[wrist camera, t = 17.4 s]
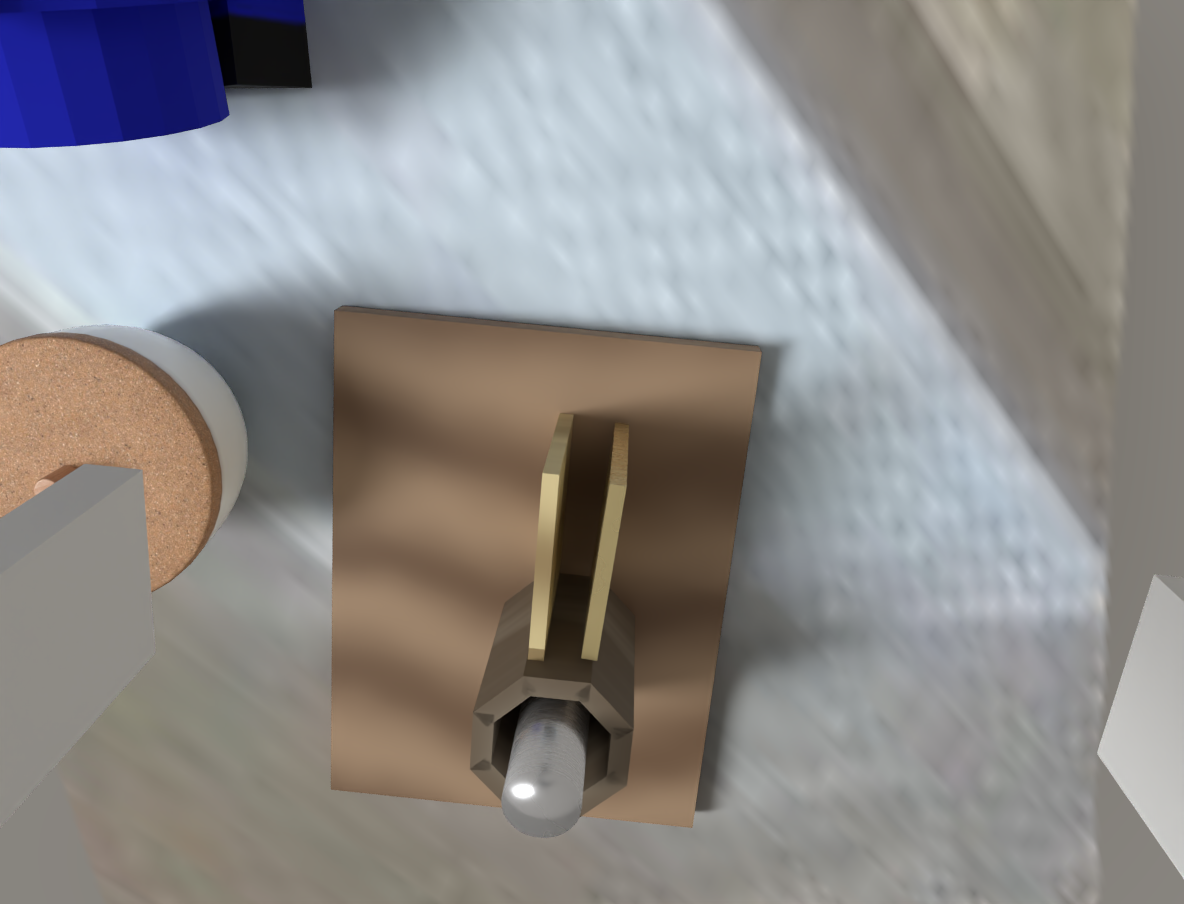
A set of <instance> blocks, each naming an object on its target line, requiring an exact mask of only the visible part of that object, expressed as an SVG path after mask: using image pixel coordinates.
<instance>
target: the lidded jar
mask: <svg viewBox="0 0 1184 904" xmlns="http://www.w3.org/2000/svg"><path fill="white" fill-rule="evenodd" d="M247 461H248V442H247V432H246V427H245V421H244V418H243V415H242V412H241V409H240V407H239V404H238V402H237V400H236V398H235V396H234V394H233V393H232V391H231V389H230V387H229V386H228V385H227V383H226V382H225V381H224V379H223V378H222V376H221V375H220V374H219V373H218V372H217V371H216V370H215V369H214V368H213V367H212V366H211V365H210V364H209V363H208V361H206V360H205V359H204V358H202V357H201V356H200V355H199V354H197V353H196V352H195V351H193V350H192V349H190V348H188V347H187V346H185V345H183V344H181V343H180V342H178V341H176V340H174V339H171V338H169V337H166V336H164V335H161V334H159V333H156V332H154V331H150V330H146V329H141V328H137V327H129V326H118V325H91V326H80V327H71V328H67V329H63V330H59V331H55V332H51V333H43V334H37V335H33V336H29V337H24V338H20V339H16V340H13V341H10V342H8V343H5V344H3V345H1V346H0V518H2V517H3V516H5V515H6V514H8V513H9V512H11V511H12V510H14V509H15V508H17V507H19V506H20V505H22V504H23V503H25V502H26V501H28V500H29V499H31V498H32V497H34V496H36V495H37V494H39V493H40V492H42V491H43V490H45V489H46V488H48V487H49V486H51V485H52V484H54V483H56V482H57V481H59V480H60V479H62V478H63V477H65V476H66V475H68V474H69V473H71V472H73V471H74V470H76V469H77V468H79V467H80V466H82V465H83V464H92V465H102V466H112V467H121V468H131V469H141V470H143V484H144V498H145V512H146V526H147V539H148V553H149V567H150V581H151V592H153V591H155V590H157V589H159V588H160V587H162V586H164V585H165V584H167V583H169V582H170V581H172V580H173V579H174V578H175V577H176V576H177V575H179V574H180V573H181V572H182V571H183V570H184V569H185V568H187V567H188V566H189V565H190V564H191V563H192V562H193V560H194V559H195V558H196V557H197V555H198V554H199V553H200V552H201V550H202V549H203V548H204V547H205V545H206V544H207V543H208V542H209V541H210V540H211V538H212V537H213V536H214V535H215V533H216V532H217V531H218V530H219V528H220V527H221V526H222V525H223V523H224V522H225V520H226V519H227V517H228V515H229V514H230V512H231V510H232V508H233V506H234V504H235V502H236V501H237V498H238V496H239V493H240V491H241V488H242V485H243V481H244V478H245V475H246V468H247Z"/></svg>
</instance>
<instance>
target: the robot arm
mask: <svg viewBox="0 0 1184 904" xmlns="http://www.w3.org/2000/svg"><path fill="white" fill-rule="evenodd" d="M155 653H156V650H155V636H154V622H153V609H152V595H151V581H150V567H149V553H148V539H147V526H146V512H145V498H144V484H143V470H141V469H131V468H121V467H112V466H102V465H92V464H83V465H82V466H80V467H79V468H77V469H76V470H74V471H73V472H71V473H69V474H68V475H66V476H65V477H63V478H62V479H60V480H59V481H57V482H56V483H54V484H52V485H51V486H49V487H48V488H46V489H45V490H43V491H42V492H40V493H39V494H37V495H36V496H34V497H32V498H31V499H29V500H28V501H26V502H25V503H23V504H22V505H20V506H19V507H17V508H15V509H14V510H12V511H11V512H9V513H8V514H6V515H5V516H3V517H2V518H0V828H1V827H2V826H3V825H4V823H5V822H6V821H7V820H8V819H9V818H10V817H11V816H12V814H13V813H14V812H15V811H16V810H17V809H18V807H19V806H20V805H21V804H22V803H23V802H24V801H25V800H26V799H27V797H28V796H29V795H30V794H31V793H32V792H33V791H34V789H35V788H36V787H37V786H38V785H39V784H40V783H41V782H42V781H43V779H44V778H45V777H46V776H47V775H48V774H49V773H50V772H51V770H52V769H53V768H54V767H55V766H56V765H57V764H58V762H59V761H60V760H61V759H62V758H63V757H64V756H65V755H66V753H67V752H68V751H69V750H70V749H71V748H72V747H73V746H74V744H75V743H76V742H77V741H78V740H79V739H80V738H81V737H82V735H83V734H84V733H85V732H86V731H87V730H88V729H89V727H90V726H91V725H92V724H93V723H94V722H95V721H96V720H97V718H98V717H99V716H100V715H101V714H102V713H103V712H104V711H105V709H106V708H107V707H108V706H109V705H110V704H111V703H112V702H113V700H114V699H115V698H116V697H117V696H118V695H119V694H120V693H121V691H122V690H123V689H124V688H125V687H126V686H127V685H128V683H129V682H130V681H131V680H132V679H133V678H134V677H135V676H136V674H137V673H138V672H139V671H140V670H141V669H142V668H143V667H144V665H145V664H146V663H147V662H148V661H149V660H150V659H151V658H152V656H153V655H154V654H155ZM1097 754H1098V755H1099V757H1100V758H1101V760H1102V761H1103V763H1104V764H1105V766H1106V767H1107V768H1108V770H1109V771H1110V773H1111V774H1112V775H1113V777H1114V778H1115V780H1116V781H1117V783H1118V784H1119V786H1120V787H1121V789H1122V790H1123V792H1124V793H1125V794H1126V796H1127V797H1128V799H1129V800H1130V802H1131V803H1132V805H1133V806H1134V808H1135V809H1136V810H1137V812H1138V813H1139V815H1140V816H1141V817H1142V819H1143V821H1144V822H1145V823H1146V825H1147V826H1148V828H1149V829H1150V831H1151V832H1152V834H1153V835H1154V836H1155V838H1156V839H1157V841H1158V842H1159V844H1160V845H1161V847H1162V848H1163V849H1164V851H1165V852H1166V854H1167V855H1168V857H1169V858H1170V860H1171V861H1172V862H1173V864H1174V865H1175V867H1176V868H1177V870H1178V871H1179V873H1180V874H1181V875H1182V877H1183V878H1184V577H1175V576H1164V575H1155V574H1154V577H1153V580H1152V583H1151V586H1150V589H1149V592H1148V596H1147V599H1146V602H1145V605H1144V608H1143V611H1142V614H1141V618H1140V621H1139V624H1138V627H1137V630H1136V633H1135V636H1134V639H1133V642H1132V646H1131V649H1130V652H1129V655H1128V658H1127V661H1126V665H1125V668H1124V671H1123V674H1122V677H1121V680H1120V683H1119V686H1118V689H1117V692H1116V696H1115V699H1114V702H1113V705H1112V708H1111V711H1110V714H1109V718H1108V721H1107V724H1106V727H1105V730H1104V733H1103V736H1102V739H1101V742H1100V746H1099V749H1098V752H1097Z"/></svg>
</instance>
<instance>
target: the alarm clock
mask: <svg viewBox="0 0 1184 904" xmlns="http://www.w3.org/2000/svg"><path fill="white" fill-rule="evenodd" d="M224 88H312V83H311V73H310V63H309V53H308V43H307V33H306V23H305V14H304V4H303V0H0V148H41V147H62V146H80V145H90V144H101V143H111V142H122V141H129V140H136V139H143V138H150V137H157V136H164V135H169V134H174V133H179V132H184V131H188V130H193V129H198V128H202V127H205V126H208V125H211V124H214V123H217V122H220V121H222V120H223V119H225V118H226V117H227V116H229V110H228V104H227V99H226V94H225V89H224Z"/></svg>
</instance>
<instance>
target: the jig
mask: <svg viewBox="0 0 1184 904" xmlns="http://www.w3.org/2000/svg"><path fill="white" fill-rule="evenodd" d="M761 355H762V352H761V350H760V348H759V346H751V345H740V344H730V343H720V342H710V341H699V340H689V339H679V338H669V337H658V336H648V335H638V334H628V333H617V332H607V331H597V330H587V329H576V328H566V327H556V326H546V325H535V324H525V323H515V322H505V321H494V320H484V319H474V318H464V317H453V316H443V315H433V314H423V313H412V312H402V311H392V310H382V309H371V308H361V307H351V306H341V307H339V308H338V309H336V310H334V417H333V563H332V709H331V790H341V791H350V792H359V793H369V794H378V795H388V796H397V797H407V798H416V799H425V800H435V801H444V802H454V803H463V804H473V805H482V806H491V807H501V808H502V805H501V799H502V793H503V788H504V784H505V779H506V774H507V769H508V765H509V760H510V755H511V751H512V746H513V741H514V736H515V732H516V727H517V722H518V717H519V713H520V708H521V703H522V702H523V701H525V700H526V699H527V698H529V697H530V696H534V697H544V698H553V699H563V700H573V701H580V702H581V703H582V704H583V705H584V706H585V707H586V708H587V709H588V711H589V712H590V720H589V731H588V743H587V754H586V765H585V776H584V787H583V798H582V809H581V814H580V817H581V816H586V817H595V818H605V819H614V820H623V821H633V822H642V823H652V824H661V825H671V826H680V827H689V828H692V826H693V819H694V812H695V806H696V799H697V792H698V785H699V778H700V771H701V765H702V758H703V751H704V744H705V737H706V730H707V724H708V717H709V710H710V703H711V696H712V689H713V683H714V676H715V669H716V662H717V655H718V648H719V642H720V635H721V628H722V621H723V614H724V607H725V601H726V594H727V587H728V580H729V573H730V566H731V560H732V553H733V546H734V539H735V532H736V525H737V519H738V512H739V505H740V498H741V491H742V485H743V478H744V471H745V464H746V457H747V450H748V444H749V437H750V430H751V423H752V416H753V409H754V403H755V396H756V389H757V382H758V375H759V368H760V362H761ZM615 422H619V423H625V424H629V438H628V464H627V487H626V493H625V499H624V505H623V511H622V517H621V523H620V529H619V534H618V540H617V546H616V552H615V558H614V564H613V570H612V576H611V582H610V588H609V593H608V599H607V605H606V611H605V617H604V623H603V629H602V635H601V641H600V646H599V652H598V658H597V661H595V660H588V659H582V658H581V655H582V647H583V638H584V629H585V620H586V611H587V602H588V593H589V585H590V576H591V568H592V562H593V555H594V549H595V543H596V537H597V531H598V525H599V518H600V512H601V506H602V500H603V494H604V488H605V481H606V475H607V469H608V463H609V457H610V451H611V444H612V438H613V432H614V426H615Z"/></svg>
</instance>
